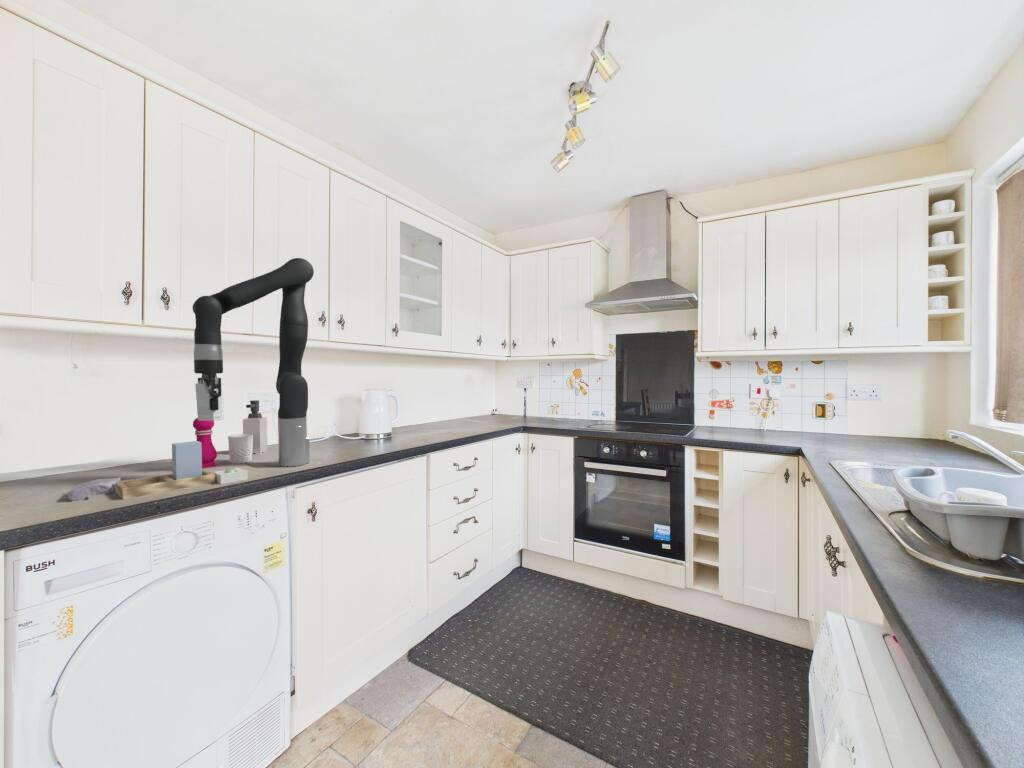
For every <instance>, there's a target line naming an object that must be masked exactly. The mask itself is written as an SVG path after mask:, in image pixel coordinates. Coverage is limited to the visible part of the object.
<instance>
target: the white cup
mask: <svg viewBox="0 0 1024 768" xmlns="http://www.w3.org/2000/svg"><path fill="white" fill-rule="evenodd" d="M227 440H228V441H227V443H228V451H229V452H228V453H229V461H230V464H232V463H234V464H246V463H245V462H247V463H249V461H251V462H252V461H253V454H252V449H253V435H252V434H243V433H242V434H241V433H240V434H232V435H228V436H227Z"/></svg>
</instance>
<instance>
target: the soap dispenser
mask: <svg viewBox="0 0 1024 768" xmlns="http://www.w3.org/2000/svg"><path fill="white" fill-rule="evenodd" d="M249 402H250V404H246V405H245V408H246V409H250V412H251V413H248V414H247V415H248V416H247V418H243V419H242V431H243V432H242V434H252V435H253V449H252V453H261V454H263V453H262V452H264V453H266V452H268V417H263V415H262V412H260V400H249ZM265 451H266V452H265Z"/></svg>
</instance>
